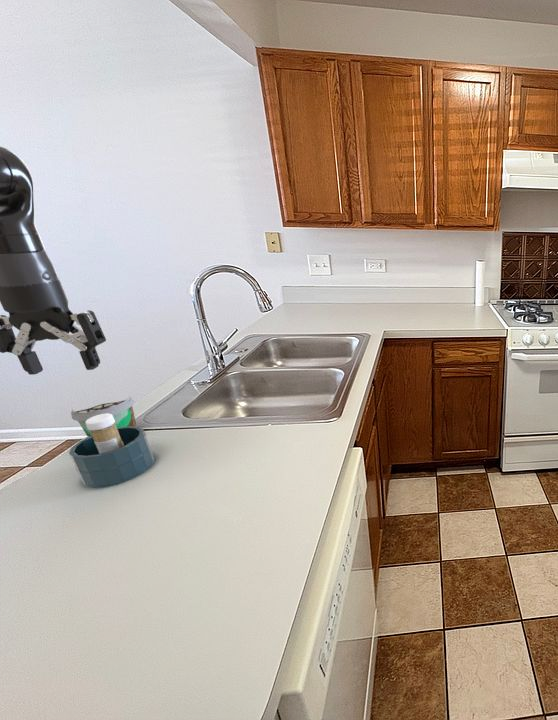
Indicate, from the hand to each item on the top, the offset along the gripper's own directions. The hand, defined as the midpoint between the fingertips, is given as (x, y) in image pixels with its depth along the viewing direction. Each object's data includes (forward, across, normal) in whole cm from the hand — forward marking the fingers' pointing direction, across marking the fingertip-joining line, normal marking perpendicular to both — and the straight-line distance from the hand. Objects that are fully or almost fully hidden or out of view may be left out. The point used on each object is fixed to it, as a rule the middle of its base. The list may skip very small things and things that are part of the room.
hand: (65, 370), depth 71 cm
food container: (+30, +16, -28) cm, 44 cm away
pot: (+30, +7, -13) cm, 34 cm away
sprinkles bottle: (+30, +7, -13) cm, 33 cm away
